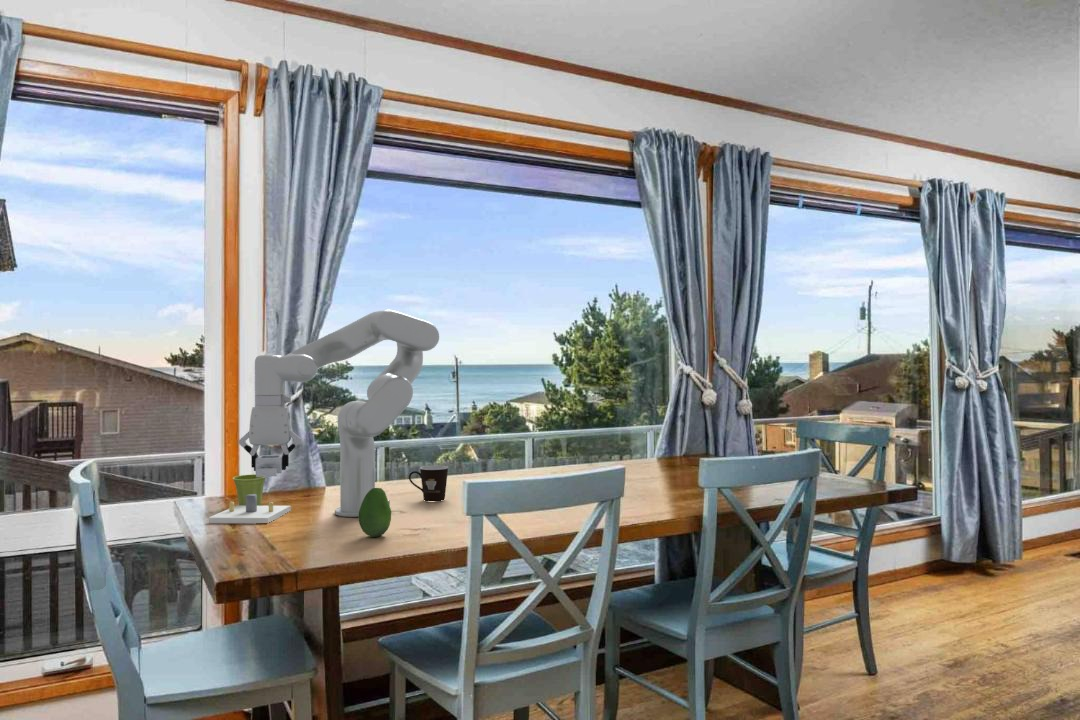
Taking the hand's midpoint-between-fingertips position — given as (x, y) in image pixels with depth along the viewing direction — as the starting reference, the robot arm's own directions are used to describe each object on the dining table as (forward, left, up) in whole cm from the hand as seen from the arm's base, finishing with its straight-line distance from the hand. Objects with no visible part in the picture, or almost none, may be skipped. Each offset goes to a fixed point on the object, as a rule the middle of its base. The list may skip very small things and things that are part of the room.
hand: (270, 469), depth 193 cm
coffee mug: (-36, -35, -15) cm, 52 cm away
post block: (+9, -9, -15) cm, 20 cm away
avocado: (-31, +12, -15) cm, 36 cm away
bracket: (0, 0, -1) cm, 1 cm away
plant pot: (+16, -24, -15) cm, 33 cm away
